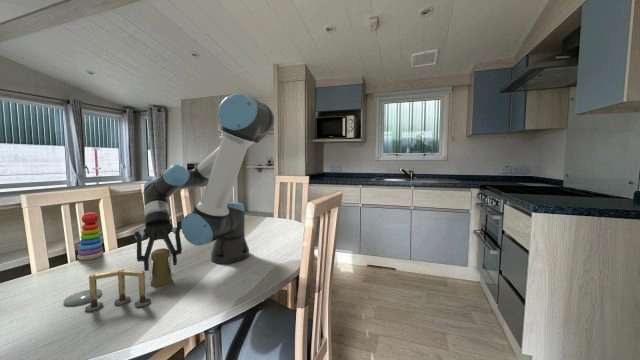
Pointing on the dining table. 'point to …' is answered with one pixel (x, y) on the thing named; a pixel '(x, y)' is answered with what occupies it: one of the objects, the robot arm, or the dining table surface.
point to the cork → (160, 268)
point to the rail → (121, 282)
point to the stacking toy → (90, 238)
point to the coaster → (80, 298)
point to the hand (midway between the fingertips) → (161, 276)
